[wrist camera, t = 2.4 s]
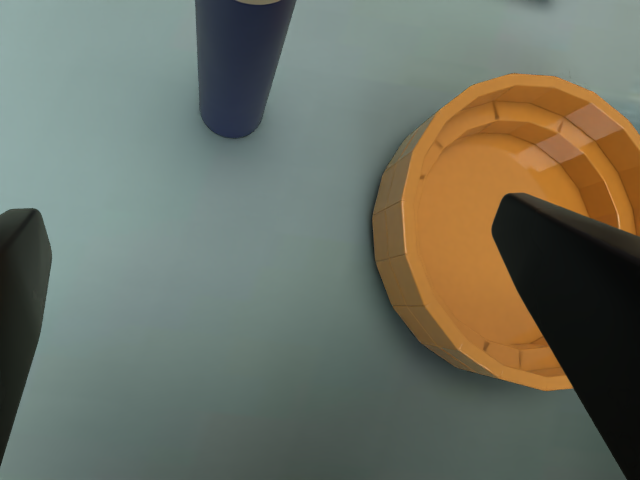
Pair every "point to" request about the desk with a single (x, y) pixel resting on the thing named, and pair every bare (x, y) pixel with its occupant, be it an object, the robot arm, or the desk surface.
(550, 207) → the robot arm
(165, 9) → the desk surface
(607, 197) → the bowl
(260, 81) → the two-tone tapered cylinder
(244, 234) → the desk surface
